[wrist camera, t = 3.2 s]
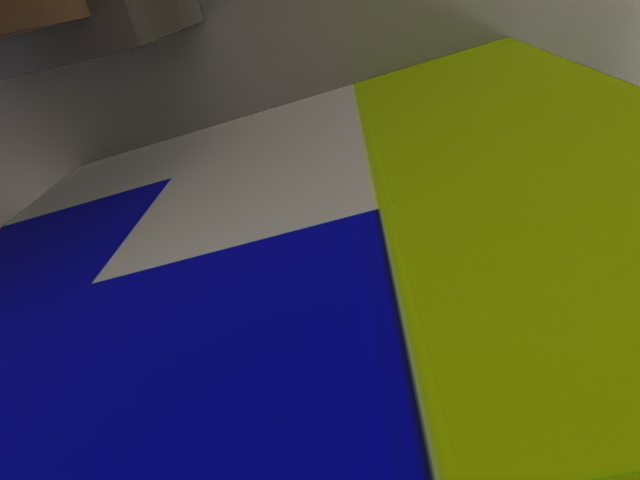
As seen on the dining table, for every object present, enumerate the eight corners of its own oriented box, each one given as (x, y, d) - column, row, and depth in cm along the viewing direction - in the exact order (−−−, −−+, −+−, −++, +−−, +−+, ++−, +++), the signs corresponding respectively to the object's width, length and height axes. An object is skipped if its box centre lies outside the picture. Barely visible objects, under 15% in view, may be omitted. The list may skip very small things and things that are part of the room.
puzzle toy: (80, 164, 12) (-572, 676, 3) (507, 36, 11) (1338, 354, 2) (233, 447, 17) (123, 991, 8) (550, 384, 15) (858, 967, 6)
